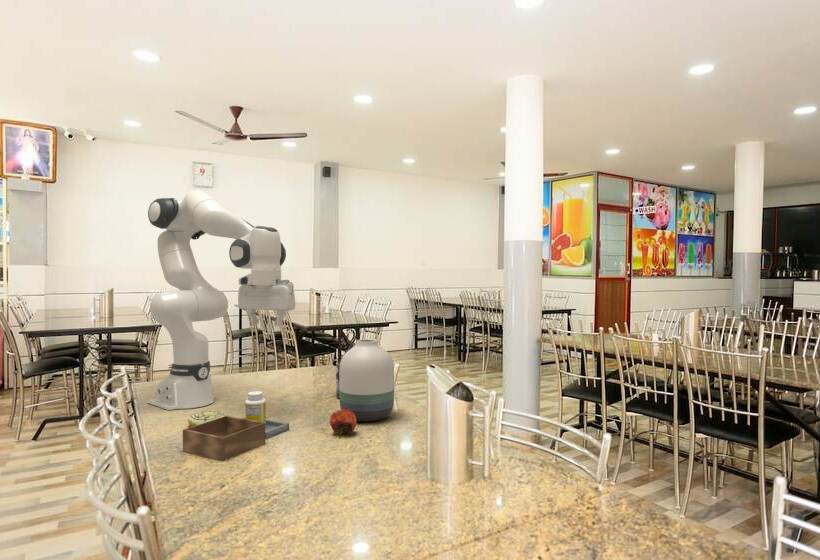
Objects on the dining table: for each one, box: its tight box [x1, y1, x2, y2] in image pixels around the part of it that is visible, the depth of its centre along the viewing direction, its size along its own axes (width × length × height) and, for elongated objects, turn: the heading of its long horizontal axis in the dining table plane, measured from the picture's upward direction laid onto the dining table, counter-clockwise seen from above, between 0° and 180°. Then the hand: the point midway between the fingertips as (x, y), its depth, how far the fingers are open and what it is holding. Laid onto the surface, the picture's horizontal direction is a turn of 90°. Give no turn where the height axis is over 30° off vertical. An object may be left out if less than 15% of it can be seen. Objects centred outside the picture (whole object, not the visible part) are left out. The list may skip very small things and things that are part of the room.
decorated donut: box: [187, 410, 227, 428], centre depth 152 cm, size 10×11×4 cm
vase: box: [339, 338, 395, 422], centre depth 161 cm, size 17×17×24 cm
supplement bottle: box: [244, 390, 267, 427], centre depth 148 cm, size 6×6×10 cm
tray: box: [242, 416, 290, 440], centre depth 148 cm, size 16×10×2 cm, turn 62°
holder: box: [182, 415, 266, 462], centre depth 134 cm, size 14×14×6 cm
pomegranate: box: [329, 408, 357, 440], centre depth 144 cm, size 7×7×10 cm
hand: (266, 324), depth 158 cm, fingers open, 8 cm apart
